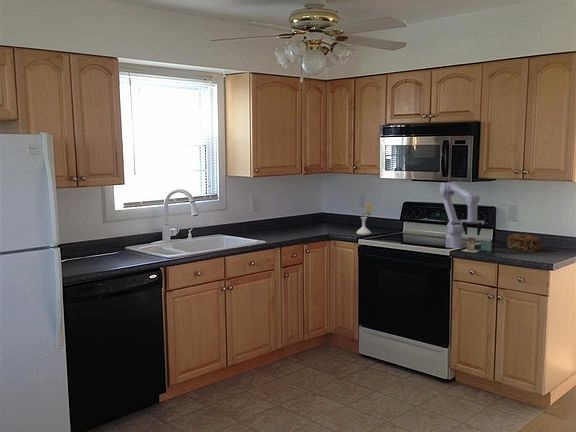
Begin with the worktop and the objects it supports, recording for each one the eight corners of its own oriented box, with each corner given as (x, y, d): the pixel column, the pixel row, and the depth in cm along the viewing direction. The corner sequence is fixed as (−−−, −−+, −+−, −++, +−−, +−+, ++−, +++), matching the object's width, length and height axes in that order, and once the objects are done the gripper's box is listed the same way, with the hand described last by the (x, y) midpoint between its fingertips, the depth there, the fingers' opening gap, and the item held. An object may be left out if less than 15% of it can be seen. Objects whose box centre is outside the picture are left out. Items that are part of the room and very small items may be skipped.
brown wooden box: (466, 250, 355) (467, 238, 354) (468, 250, 357) (468, 237, 356) (473, 251, 352) (473, 238, 351) (474, 250, 354) (474, 238, 353)
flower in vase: (359, 236, 422) (359, 203, 419) (354, 234, 433) (354, 202, 430) (375, 235, 425) (375, 203, 422) (369, 233, 436) (370, 201, 433)
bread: (506, 248, 365) (507, 233, 363) (513, 247, 372) (514, 232, 371) (535, 252, 351) (536, 236, 350) (542, 250, 359) (543, 235, 357)
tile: (480, 251, 355) (481, 240, 354) (481, 251, 356) (481, 240, 355) (490, 252, 351) (490, 241, 351) (490, 252, 352) (491, 241, 352)
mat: (461, 251, 354) (461, 250, 354) (466, 249, 361) (466, 248, 361) (475, 253, 348) (475, 252, 348) (480, 251, 355) (480, 250, 355)
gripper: (459, 213, 353) (458, 234, 354) (482, 214, 344) (482, 236, 345) (462, 212, 358) (462, 233, 360) (485, 213, 350) (485, 234, 351)
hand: (472, 234), depth 353 cm, fingers open, 7 cm apart
